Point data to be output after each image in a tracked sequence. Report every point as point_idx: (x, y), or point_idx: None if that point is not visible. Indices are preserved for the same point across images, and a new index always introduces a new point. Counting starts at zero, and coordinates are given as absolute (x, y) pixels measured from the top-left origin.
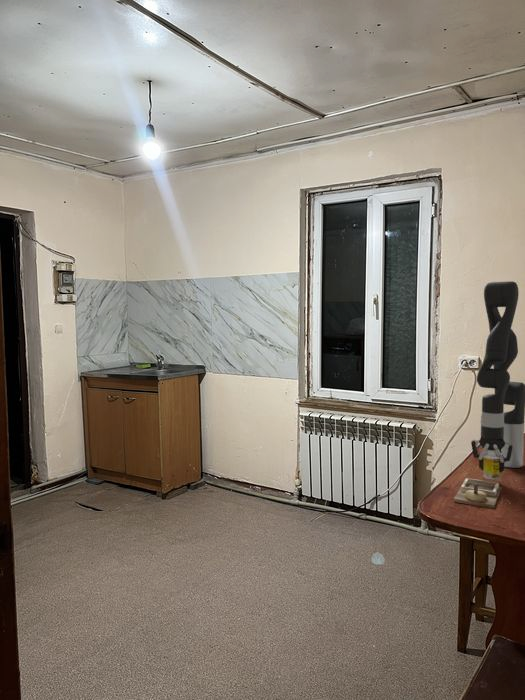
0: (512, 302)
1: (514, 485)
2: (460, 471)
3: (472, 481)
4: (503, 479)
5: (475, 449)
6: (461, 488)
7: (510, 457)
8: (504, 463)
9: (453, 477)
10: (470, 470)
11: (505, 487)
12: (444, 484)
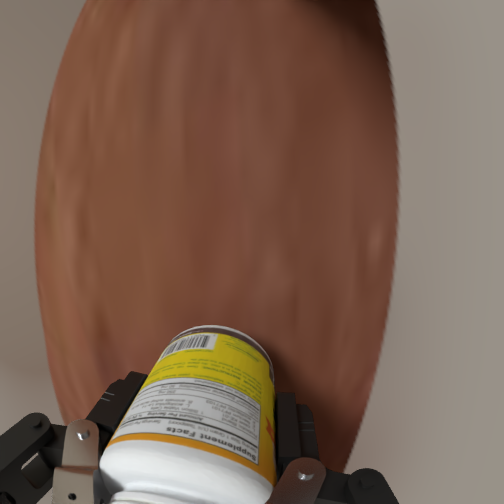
0: None
1: (356, 351)
2: (44, 198)
3: None
4: (298, 257)
5: (34, 500)
6: None
7: (384, 494)
8: (317, 450)
9: (47, 325)
10: (83, 143)
11: (303, 400)
12: (65, 416)
